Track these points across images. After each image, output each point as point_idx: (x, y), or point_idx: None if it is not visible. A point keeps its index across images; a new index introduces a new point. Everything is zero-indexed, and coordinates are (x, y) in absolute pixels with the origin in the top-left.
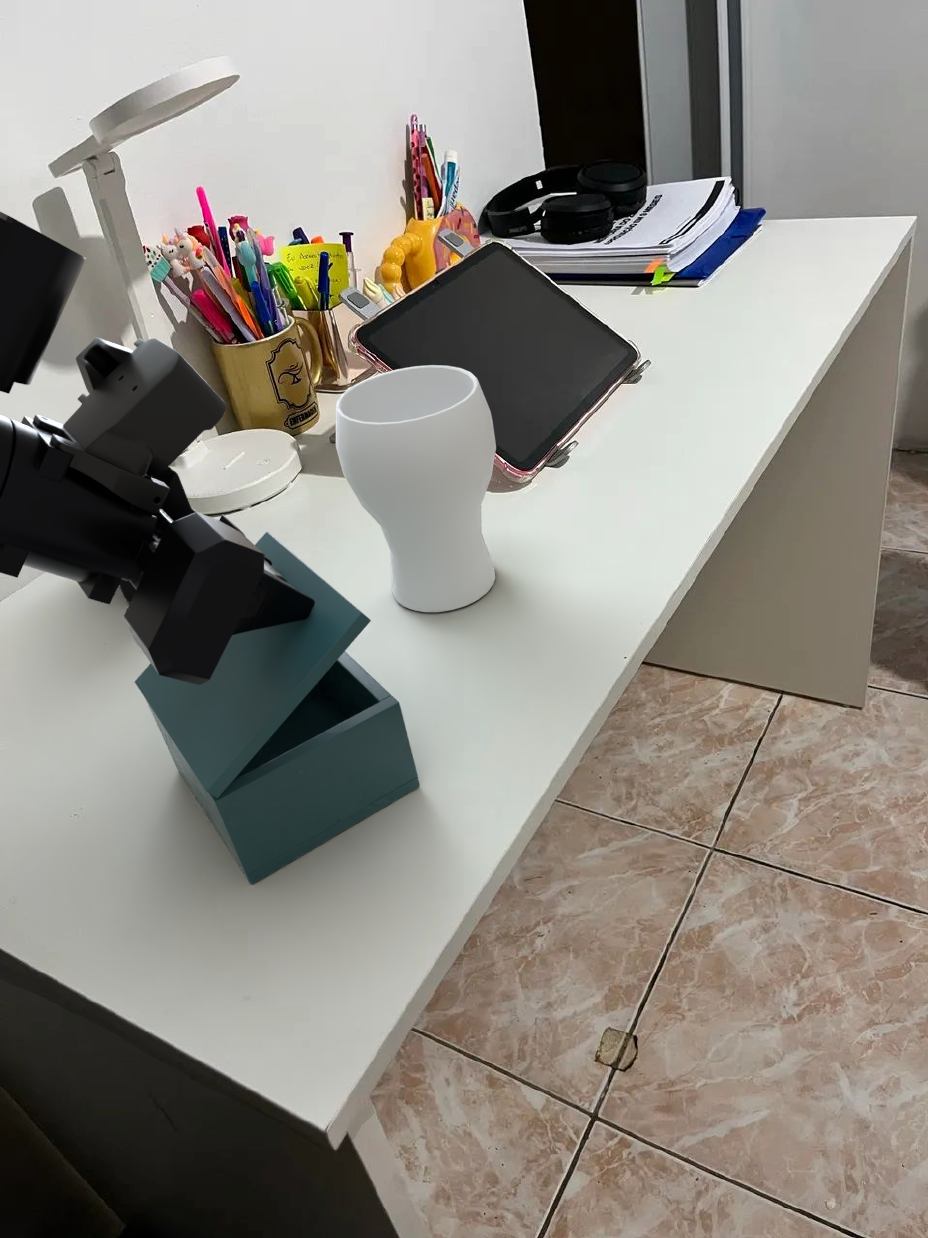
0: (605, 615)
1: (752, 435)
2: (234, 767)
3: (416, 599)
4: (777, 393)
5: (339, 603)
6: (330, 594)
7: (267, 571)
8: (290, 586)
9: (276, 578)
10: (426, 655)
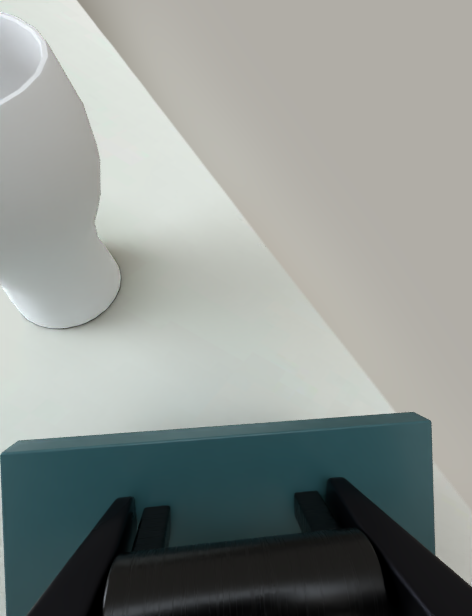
0: (215, 228)
1: (118, 70)
2: None
3: (82, 314)
4: (92, 38)
5: (371, 438)
6: (333, 440)
7: (446, 612)
8: (409, 537)
9: (463, 589)
10: (151, 348)
